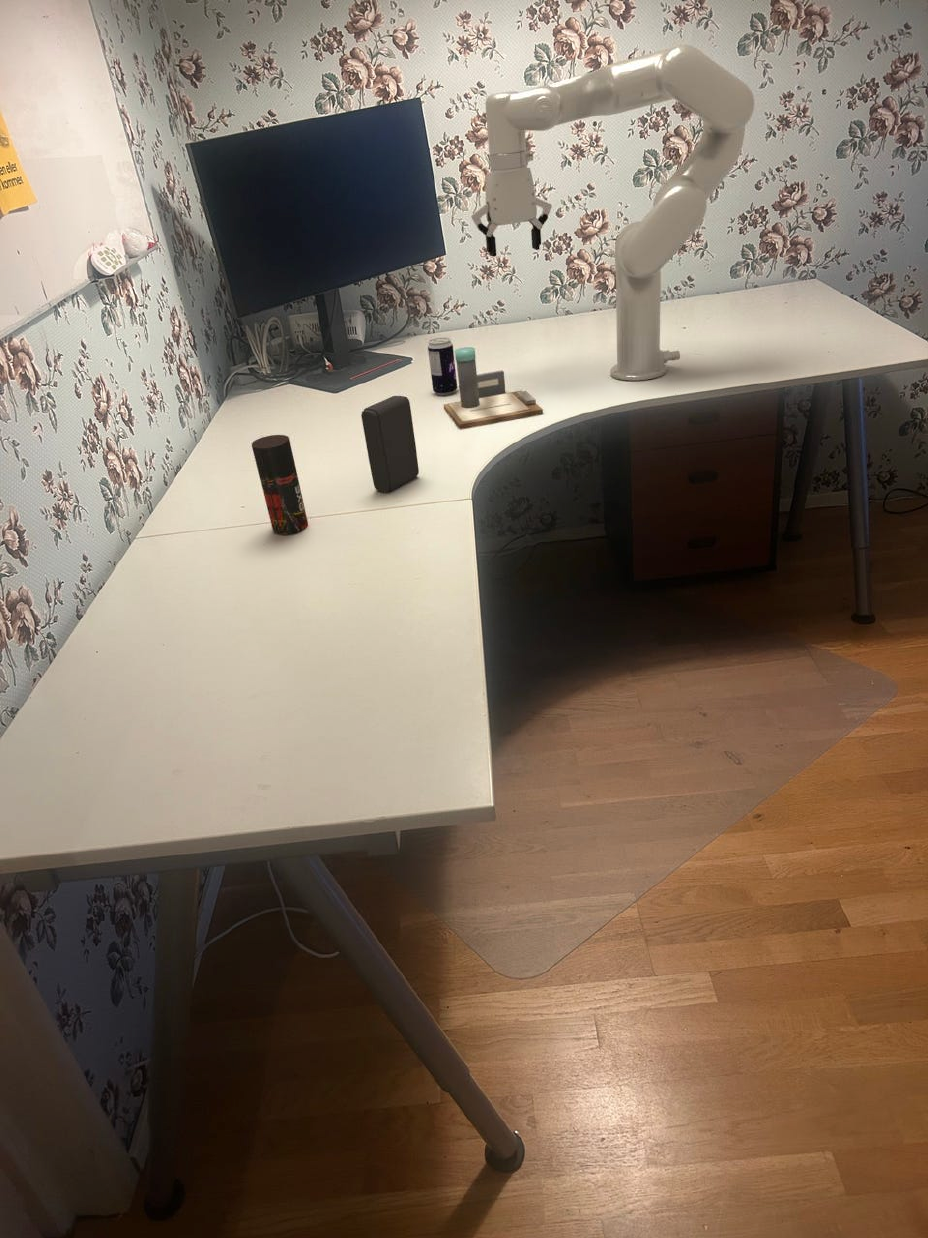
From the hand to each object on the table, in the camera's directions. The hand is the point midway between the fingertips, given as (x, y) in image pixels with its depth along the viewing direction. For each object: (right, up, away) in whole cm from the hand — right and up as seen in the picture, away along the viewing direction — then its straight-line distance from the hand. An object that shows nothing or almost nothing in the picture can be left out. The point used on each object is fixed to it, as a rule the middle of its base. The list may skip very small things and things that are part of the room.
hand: (514, 252), depth 183 cm
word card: (-6, -29, +9) cm, 31 cm away
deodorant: (-40, -64, -41) cm, 86 cm away
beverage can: (-15, -26, +15) cm, 34 cm away
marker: (-9, -33, +1) cm, 34 cm away
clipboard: (-5, -34, 0) cm, 35 cm away
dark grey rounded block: (-23, -55, -29) cm, 66 cm away
